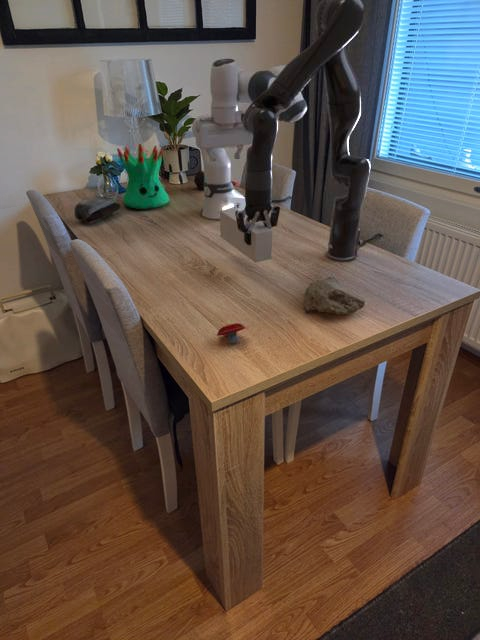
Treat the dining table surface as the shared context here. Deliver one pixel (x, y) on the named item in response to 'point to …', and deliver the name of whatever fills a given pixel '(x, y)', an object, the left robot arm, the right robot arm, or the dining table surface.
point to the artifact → (331, 297)
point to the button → (231, 331)
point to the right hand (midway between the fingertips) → (257, 242)
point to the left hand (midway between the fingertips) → (225, 160)
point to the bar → (235, 237)
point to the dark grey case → (95, 209)
